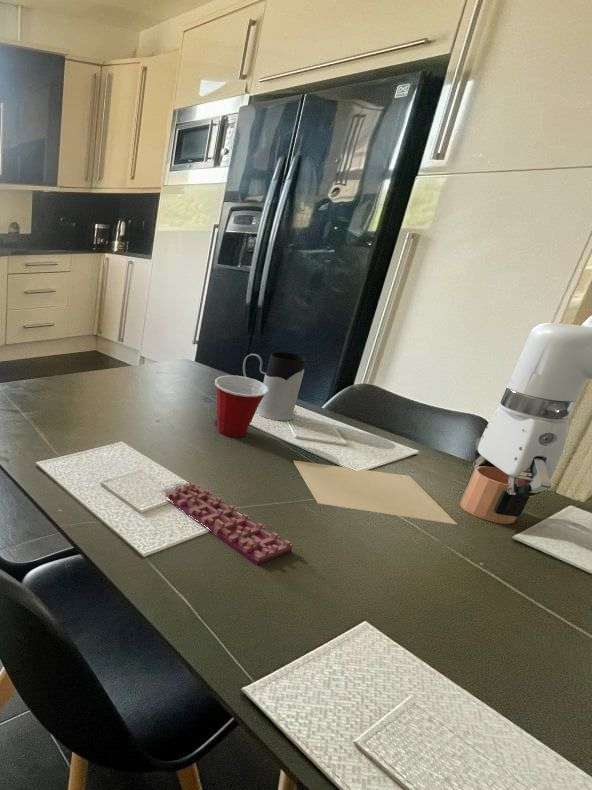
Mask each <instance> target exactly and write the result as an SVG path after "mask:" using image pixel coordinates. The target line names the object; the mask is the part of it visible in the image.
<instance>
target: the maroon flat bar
mask: <svg viewBox="0 0 592 790" xmlns="http://www.w3.org/2000/svg"><path fill="white" fill-rule="evenodd" d="M212 494H213V493H212V492H211V491H210V490H209V489H207V488H206V489H204V490H203V489H202V488H201V485H200V484H196V483H194V482H189V484H188V483H186V484H184V485H183V488H182V487H180V486H176V487H175V488H174V490H172V491H168V492H166V493H165V498H166V497H168V498H169V499H170V500H172V501H173V503H174V505H175V506H177V507H178V508H180V509H181V510H183V511H184V512H186V513H187V514H188V515H190V516H192V517H193V518H194V519H196V520H198V521H199V522H200V523H202V524H203V525H205V526H206V527H208V528H209V529H210V530H211V532H210V533H211V534H213V535H215V536H216V537H217V538H218V539H220V540H221V541H223V542H224V543H225V544H227V545H228V546H229V547H231V548H232V549H233V550H235V551H237V552H238V553H239V554H241V555H242V556H243V557H245V558H246V559H248V560H249V561H251V562H252V563H253V564H254V565H256V566H258V565H261V564H264V563H266V562H269V561H272V560H274V559H277V558H279V557H282V556H284V555H287V554H290V553H292V550H293V546H294V545H293V544H292V542H291V541H289V540H288V539H285V540H282V539H281V538H282V537H281V536H280V534H279V533H277V532H275V531H274V532H271V533H270V532H269V531H268V530H266V526H264V524H263V523H261V522H257V523H255V522H253V521H252V520H251V519H252V518H251V517H250V516H249V515H248V513H243V514H241V513H239V512H238V509H237V508H236V506H234V505H232V504H229V505H226V503H225V500H223V498H222V497H220V496H218V497H214V496H212ZM174 505H173V506H174ZM175 506H174V507H175ZM177 507H176V508H177ZM178 508H177V509H178ZM180 509H179V510H180ZM181 510H180V511H181ZM184 512H183V513H184ZM187 514H186V515H187ZM188 515H187V516H188ZM194 519H193V520H194Z"/></svg>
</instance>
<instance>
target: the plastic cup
mask: <svg viewBox="0 0 592 790" xmlns="http://www.w3.org/2000/svg"><path fill="white" fill-rule="evenodd" d="M214 385H215V387H216V396H217V397H216V398H217V399H216V401H217V402H216V420H217V421H216V424H217V425H216V428H217V432H218V433H219V434H221V435H222V436H226V437H230V438H243V437H244V436H245V435H246V433H247V431H248V429H249V427H250V424H251V423H252V421H253V419H254V416H255V414H256V410H257V408H258V406H259V403H260V402H261V400H262V398H263V397H264V395H265V394H267V393H268V391H269V390H268V387H267V386H266V385H265V384H264V383H263V382H262V381H260V380H258V379H254V378H251V377H247V376H246V377H244V376H243V375H242V376H241V375H222V376H218V377H217V378H215V380H214Z"/></svg>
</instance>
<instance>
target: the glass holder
mask: <svg viewBox="0 0 592 790" xmlns="http://www.w3.org/2000/svg"><path fill="white" fill-rule="evenodd" d="M250 356H255V357H256V358H257V359H258V360H259V363H260V364H259V372H260V374H263V375H264V377H263V382H262V383H264V384H265V385H266V386H267V387H268V390H269V391H268V393H267V394H265V395H264V397H263V398H262V400H261V402H260V403H259V406H258V408H257V410H256V412H255V414H257V415H258V414H259V415H258V416H260V415H261V416H260V417H262V416H263V417H262V418H265V417H266V418H265V419H268V418H269V419H268V420H272V419H275V420H274V421H278V420H281V421H280V422H284V421H283V420H290V421H292V420H291V419H293V418H294V419H295V414H294V413H295V407H296V403H297V399H298V396H299V392H300V388H301V385H302V381H303V378H304V373H305V366H306V362H307V357H306V356H304V355H301V354H298V353H292V352H286V351H274V352H271V353H270V356H269V360H268V364H267V368H266V372H265V371H263V359H262V357H261V356H260V355H259V354H256V353H250V354H248V355H246V356H245V357H244V359H243V363H242V373H243V377H247V373H246V364H247V363H246V362H247V359H248V358H249V357H250ZM294 419H293V420H294Z"/></svg>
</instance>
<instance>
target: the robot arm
mask: <svg viewBox="0 0 592 790" xmlns="http://www.w3.org/2000/svg"><path fill="white" fill-rule="evenodd" d="M589 379H592V315H591V316H589V317H588V318H587V319H586V320H585V321H584V322H583V323H582V324H581V325H578V324H572V323H561V322H547V323H541V324H538V325H536V326H535V327H534V328H532V330H531V331H530V333H529V335H528V336H527V339H526V342H525V344H524V346H523V349H522V351H521V353H520V356H519V358H518V360H517V363H516V365H515V367H514V370H513V373H512V374H511V377H510V379H509V381H508V384H507V386H506V389H505V391H504V392H503V395H502V397H501V399H500V402H499V404H498V407H497V408H496V410H495V411H494V413H493V414H492V416H491V417H490V419H489V421H488V423H487V425H486V427H485V429H484V430H483V433H482V434H481V437H478V438H476V439H475V440H474V445H475V451H474V457H475V460H474V461H473V463H472V466H473V469H472V471H471V474H470V476H469V478H468V480H467V483H466V485H465V488H466V487H467V485H468V483H469V480H470V478H471V476H472V473H473V471H474V469H475V468H476V467H478V466H489V467H496V468H499V469H500V470H502V471H503V472H504V473H506V474H507V475H508V485H507V491H503V492H502V494H501V496H500V498H499V500H498V502H497V504H496V507H495V509H494V512H495V513H497V514H501V515H508V516H515V517H517V518H519V517H520V516H521V515H522V514H523V511H524V509H525V507H526V505H527V503H528V501H529V499H530V498H534V497H535V496H536V495H539V494H541V493H543V492H545V491H547V490H549V489H551V488H552V482H551V479H552V477H553V475H554V473H555V471H556V469H557V467H558V464H559V462H560V460H561V457H562V454H563V452H564V449H565V446H566V443H567V438H568V434H569V430H570V429H569V428H570V423H569V422H568V421H569V419H570V417H571V414H572V413H573V411H574V409H575V406H576V404H577V403H578V401H579V398H580V396H581V394H582V392H583V390H584V388H585V386H586V384H587V382H588V380H589ZM521 473H525V474H526V475H521ZM518 479H520V480H525V484H524V485H521V486H517V485H518Z"/></svg>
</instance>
